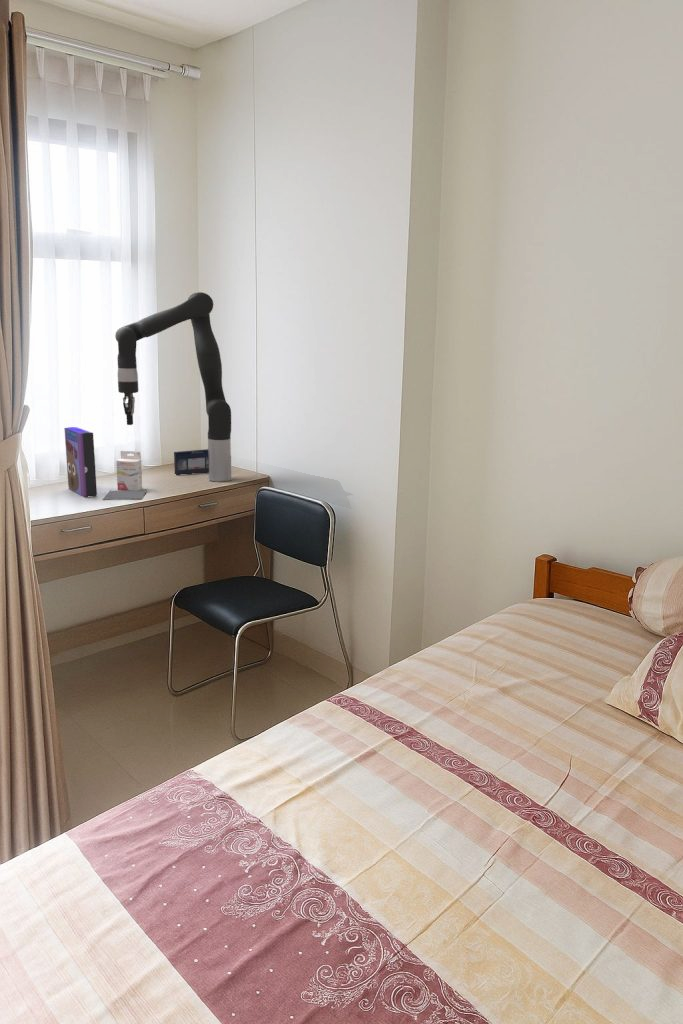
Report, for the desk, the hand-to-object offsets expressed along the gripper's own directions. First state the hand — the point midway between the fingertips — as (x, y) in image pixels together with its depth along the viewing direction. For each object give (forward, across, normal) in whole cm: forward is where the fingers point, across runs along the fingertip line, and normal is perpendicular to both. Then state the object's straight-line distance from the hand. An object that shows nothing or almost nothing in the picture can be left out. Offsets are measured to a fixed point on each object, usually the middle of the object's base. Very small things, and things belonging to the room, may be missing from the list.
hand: (130, 424), depth 305 cm
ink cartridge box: (+24, -8, 0) cm, 26 cm away
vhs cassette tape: (+24, +24, -23) cm, 41 cm away
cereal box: (+24, -12, +17) cm, 32 cm away
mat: (+24, -18, 0) cm, 30 cm away
